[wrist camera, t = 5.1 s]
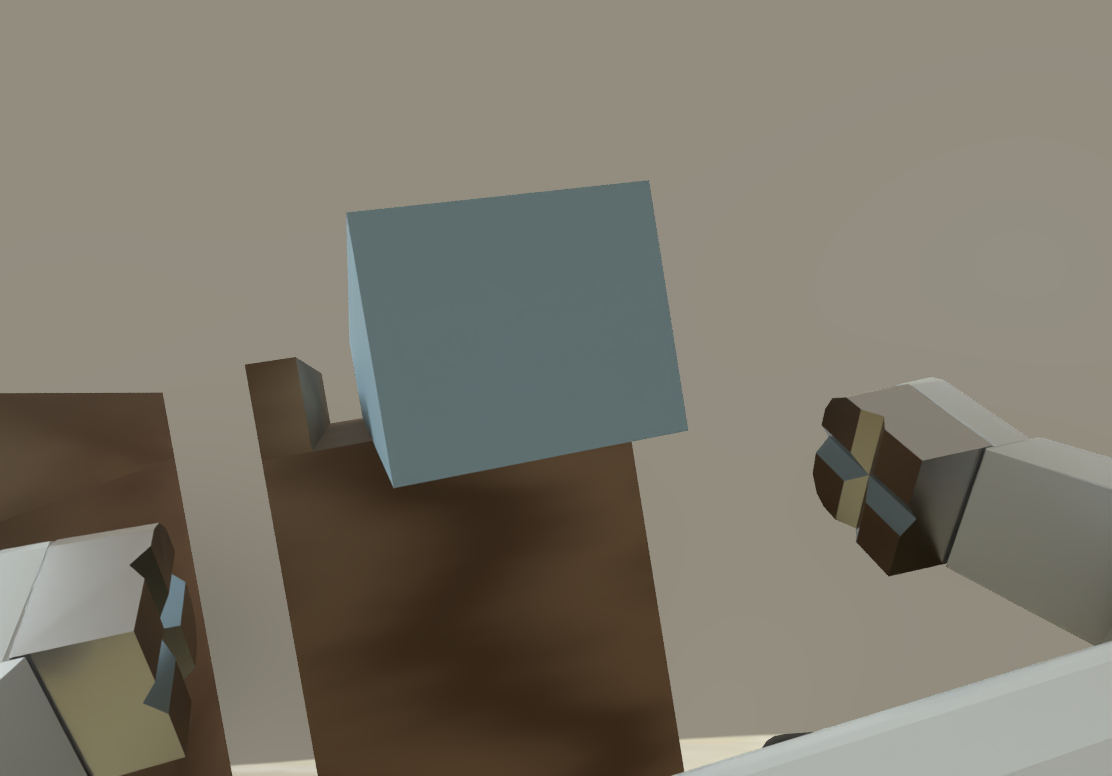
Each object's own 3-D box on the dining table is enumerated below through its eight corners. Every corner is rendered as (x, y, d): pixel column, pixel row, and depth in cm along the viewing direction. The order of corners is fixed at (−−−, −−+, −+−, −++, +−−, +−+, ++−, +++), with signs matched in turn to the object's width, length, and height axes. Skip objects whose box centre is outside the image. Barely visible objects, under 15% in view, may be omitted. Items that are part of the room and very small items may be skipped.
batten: (393, 488, 8) (346, 213, 8) (363, 419, 30) (349, 341, 30) (688, 430, 9) (648, 180, 9) (453, 403, 31) (441, 327, 31)
